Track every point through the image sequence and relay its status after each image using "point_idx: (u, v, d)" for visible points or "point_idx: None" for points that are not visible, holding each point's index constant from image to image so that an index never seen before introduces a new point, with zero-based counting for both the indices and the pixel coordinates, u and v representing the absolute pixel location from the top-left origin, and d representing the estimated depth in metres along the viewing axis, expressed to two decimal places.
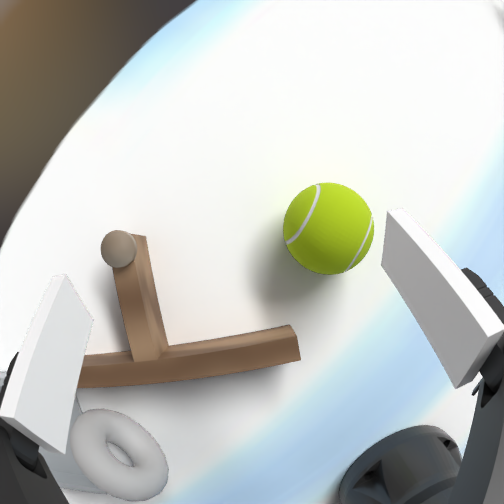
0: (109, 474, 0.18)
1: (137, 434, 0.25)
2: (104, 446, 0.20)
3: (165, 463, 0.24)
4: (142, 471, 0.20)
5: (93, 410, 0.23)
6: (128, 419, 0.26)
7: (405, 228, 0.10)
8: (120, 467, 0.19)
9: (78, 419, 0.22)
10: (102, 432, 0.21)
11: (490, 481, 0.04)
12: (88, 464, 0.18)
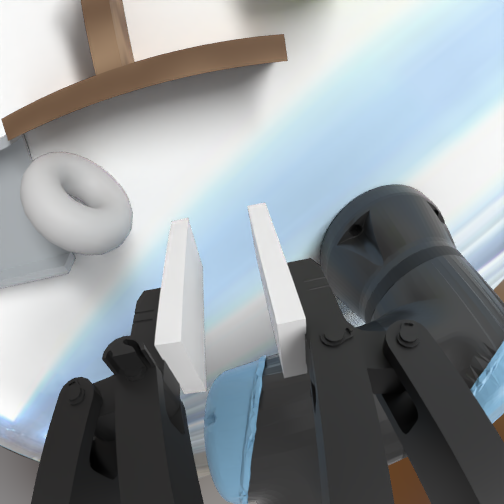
0: (63, 215, 0.17)
1: (97, 175, 0.23)
2: (58, 184, 0.18)
3: (129, 204, 0.24)
4: (102, 211, 0.20)
5: (48, 153, 0.20)
6: (87, 160, 0.23)
7: (253, 221, 0.12)
8: (76, 205, 0.18)
9: (30, 164, 0.18)
10: (56, 171, 0.19)
11: (330, 501, 0.04)
12: (39, 208, 0.17)
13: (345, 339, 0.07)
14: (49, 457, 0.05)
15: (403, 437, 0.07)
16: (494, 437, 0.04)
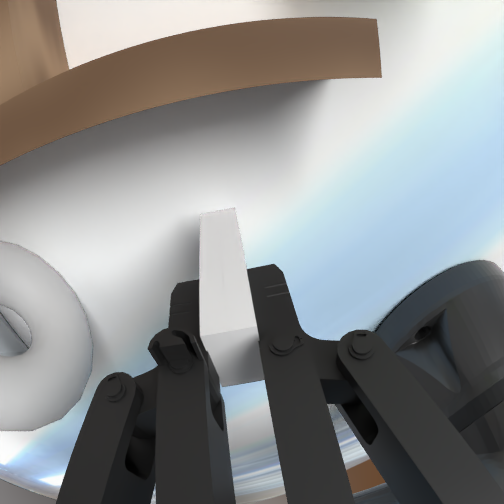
0: None
1: (29, 279, 0.13)
2: None
3: (83, 331, 0.13)
4: (34, 368, 0.10)
5: None
6: (13, 250, 0.13)
7: (220, 226, 0.12)
8: None
9: None
10: None
11: None
12: None
13: (295, 346, 0.07)
14: (81, 455, 0.05)
15: (368, 448, 0.07)
16: (461, 446, 0.04)
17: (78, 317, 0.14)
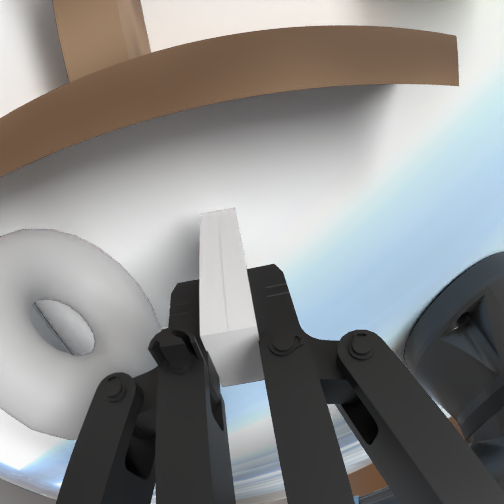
0: (40, 402, 0.07)
1: (93, 271, 0.13)
2: (19, 325, 0.08)
3: (156, 325, 0.14)
4: (113, 366, 0.10)
5: (0, 238, 0.10)
6: (73, 240, 0.13)
7: (220, 226, 0.12)
8: (61, 374, 0.08)
9: None
10: (13, 287, 0.09)
11: None
12: None
13: (295, 346, 0.07)
14: (81, 455, 0.05)
15: (368, 448, 0.07)
16: (462, 446, 0.04)
17: (149, 310, 0.14)
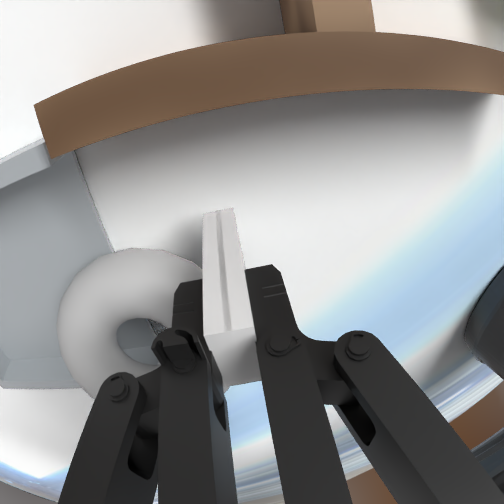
0: None
1: (168, 322, 0.14)
2: (95, 375, 0.14)
3: None
4: None
5: (73, 291, 0.13)
6: (146, 291, 0.13)
7: (219, 226, 0.12)
8: None
9: (58, 313, 0.14)
10: (89, 347, 0.13)
11: None
12: None
13: (292, 347, 0.07)
14: (83, 455, 0.05)
15: (366, 449, 0.07)
16: (460, 446, 0.04)
17: None
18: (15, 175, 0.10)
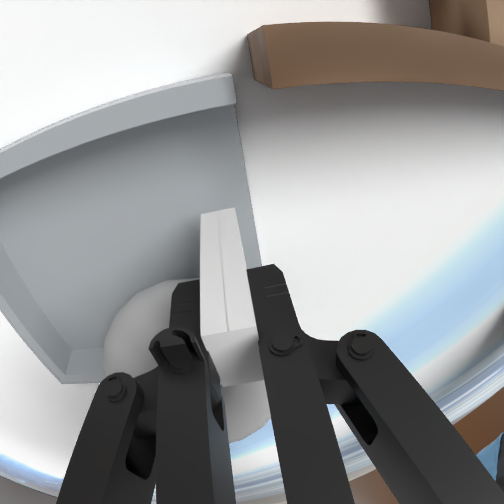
0: None
1: None
2: None
3: None
4: None
5: (115, 328, 0.14)
6: None
7: (220, 226, 0.12)
8: None
9: (104, 351, 0.15)
10: None
11: None
12: None
13: (295, 347, 0.07)
14: (81, 455, 0.05)
15: (368, 448, 0.07)
16: (462, 446, 0.04)
17: None
18: (181, 107, 0.10)
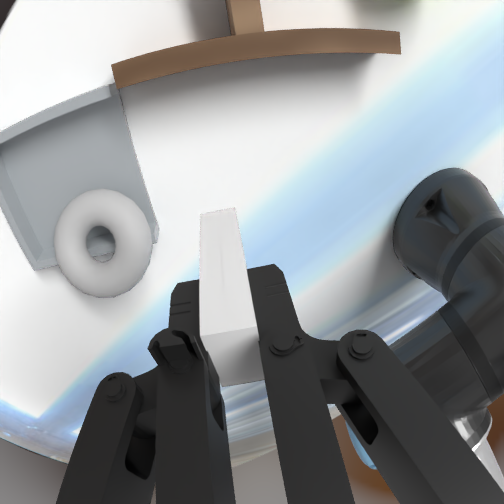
0: (82, 290, 0.26)
1: (104, 220, 0.25)
2: (71, 263, 0.25)
3: (136, 249, 0.25)
4: (107, 276, 0.26)
5: (61, 215, 0.25)
6: (92, 204, 0.24)
7: (220, 226, 0.12)
8: (86, 282, 0.25)
9: None
10: (68, 245, 0.25)
11: None
12: (70, 282, 0.26)
13: (295, 346, 0.07)
14: (81, 455, 0.05)
15: (368, 448, 0.07)
16: (462, 446, 0.04)
17: (133, 240, 0.25)
18: (89, 101, 0.20)
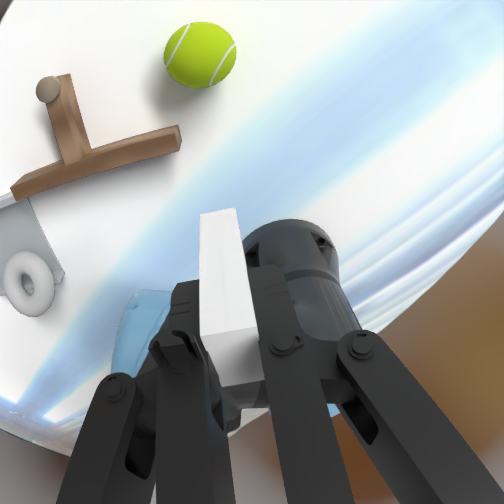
0: (19, 311, 0.38)
1: (26, 271, 0.37)
2: (12, 295, 0.37)
3: (42, 289, 0.37)
4: (30, 304, 0.37)
5: (5, 266, 0.37)
6: (19, 262, 0.36)
7: (220, 226, 0.12)
8: (20, 307, 0.37)
9: None
10: (9, 285, 0.37)
11: None
12: None
13: (295, 346, 0.07)
14: (81, 455, 0.05)
15: (368, 448, 0.07)
16: (462, 446, 0.04)
17: (40, 284, 0.37)
18: (7, 203, 0.32)
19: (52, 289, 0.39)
